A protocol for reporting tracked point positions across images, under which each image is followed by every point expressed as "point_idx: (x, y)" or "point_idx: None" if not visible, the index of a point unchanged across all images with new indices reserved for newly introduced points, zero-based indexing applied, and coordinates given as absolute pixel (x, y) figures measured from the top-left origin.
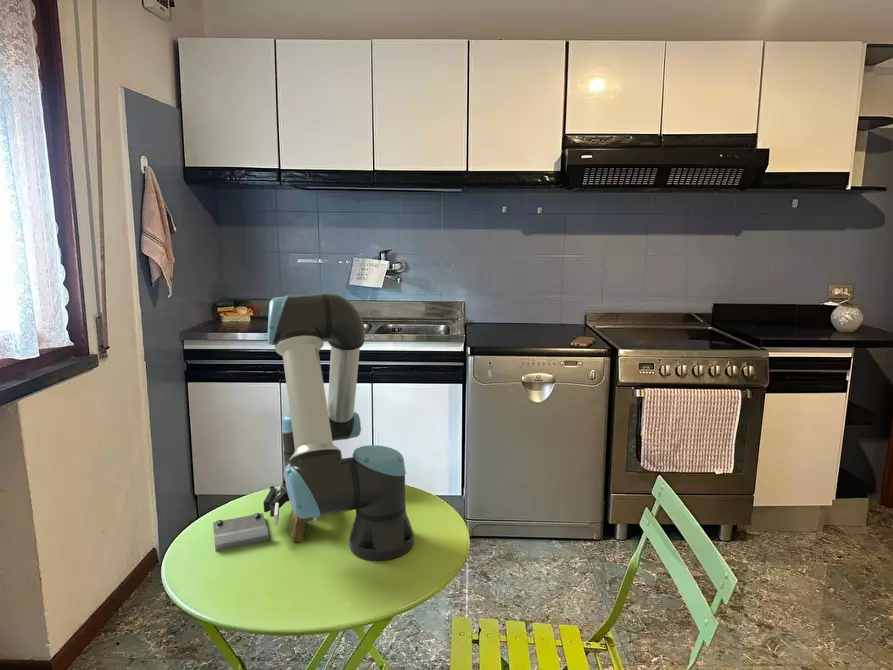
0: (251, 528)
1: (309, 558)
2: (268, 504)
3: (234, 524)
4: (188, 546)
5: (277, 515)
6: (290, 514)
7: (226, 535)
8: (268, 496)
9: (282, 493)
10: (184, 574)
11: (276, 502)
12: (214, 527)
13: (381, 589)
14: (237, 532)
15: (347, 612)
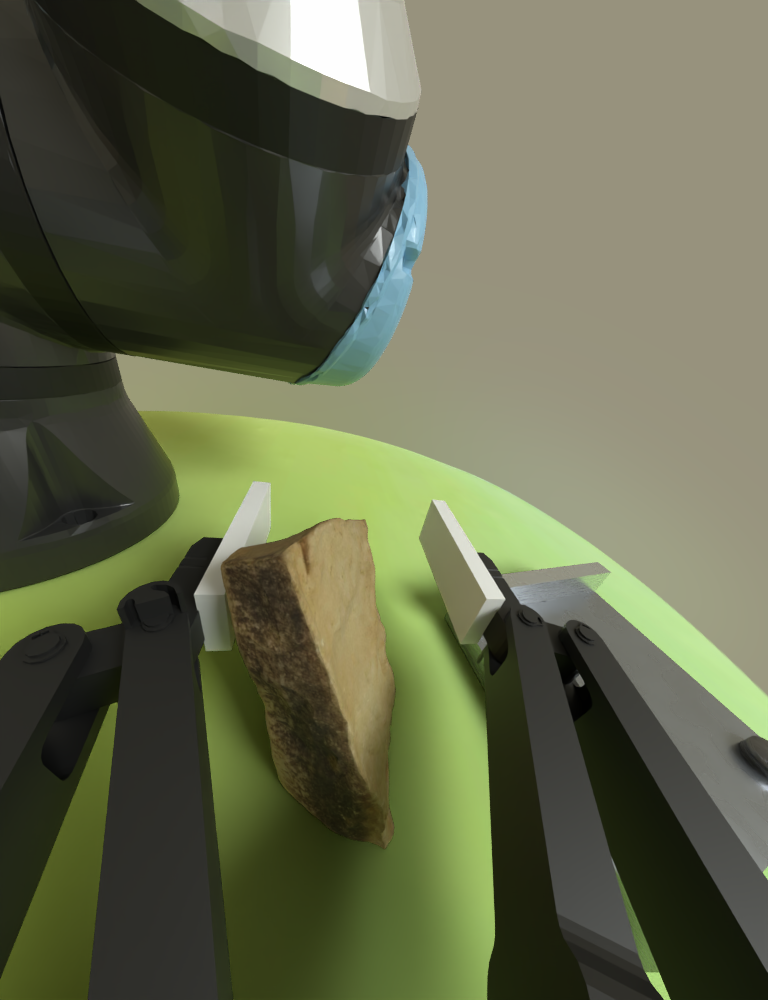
0: (520, 582)
1: (304, 512)
2: (552, 630)
3: (677, 737)
4: (681, 639)
5: (432, 510)
6: (394, 686)
7: (572, 566)
8: (667, 757)
9: (582, 844)
10: (555, 533)
11: (509, 627)
12: (734, 717)
13: (194, 429)
14: (550, 571)
15: (267, 424)
